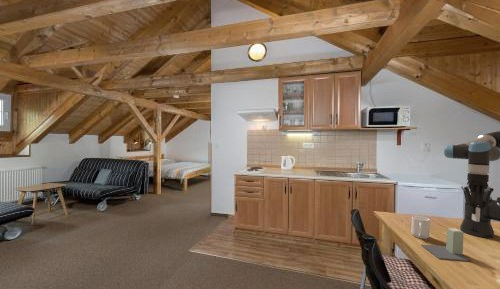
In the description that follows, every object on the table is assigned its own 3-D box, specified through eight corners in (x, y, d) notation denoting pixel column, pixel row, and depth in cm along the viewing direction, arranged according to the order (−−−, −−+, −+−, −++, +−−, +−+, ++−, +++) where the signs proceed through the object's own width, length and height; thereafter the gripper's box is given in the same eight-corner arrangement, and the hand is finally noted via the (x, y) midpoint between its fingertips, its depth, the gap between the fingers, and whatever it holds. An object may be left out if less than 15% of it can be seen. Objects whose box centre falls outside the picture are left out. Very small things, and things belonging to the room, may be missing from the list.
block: (455, 250, 119) (456, 228, 119) (462, 254, 115) (463, 231, 114) (446, 249, 120) (447, 227, 119) (452, 253, 115) (453, 231, 115)
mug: (411, 238, 133) (411, 220, 133) (411, 231, 143) (411, 214, 143) (430, 242, 128) (430, 223, 128) (428, 235, 138) (429, 217, 138)
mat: (449, 247, 123) (450, 246, 123) (471, 261, 109) (471, 260, 109) (421, 245, 125) (421, 244, 125) (438, 259, 111) (438, 257, 111)
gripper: (486, 172, 117) (483, 218, 118) (457, 171, 119) (455, 217, 120) (500, 175, 110) (497, 224, 111) (469, 173, 112) (466, 222, 112)
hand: (475, 220), depth 115 cm, fingers closed
